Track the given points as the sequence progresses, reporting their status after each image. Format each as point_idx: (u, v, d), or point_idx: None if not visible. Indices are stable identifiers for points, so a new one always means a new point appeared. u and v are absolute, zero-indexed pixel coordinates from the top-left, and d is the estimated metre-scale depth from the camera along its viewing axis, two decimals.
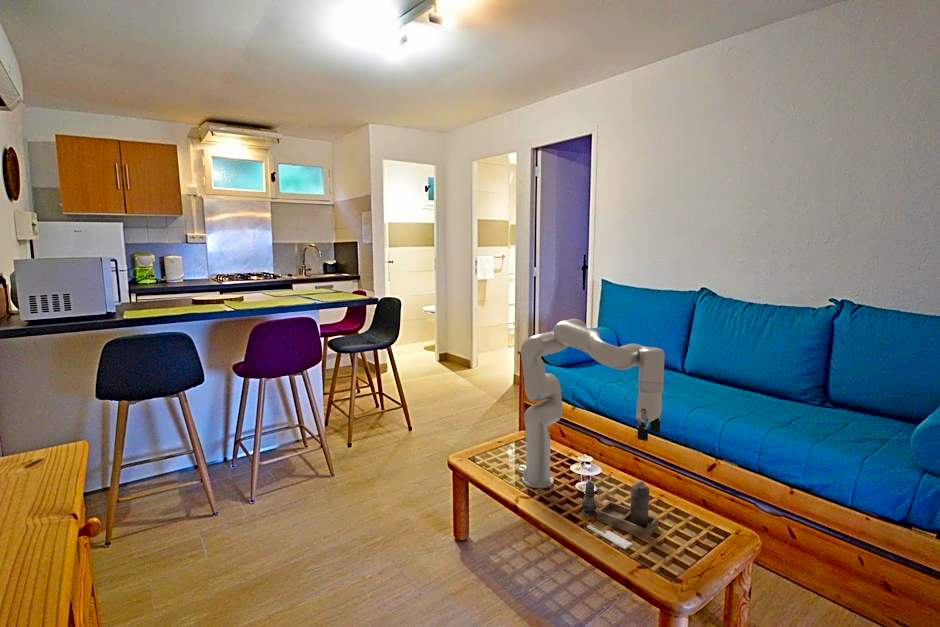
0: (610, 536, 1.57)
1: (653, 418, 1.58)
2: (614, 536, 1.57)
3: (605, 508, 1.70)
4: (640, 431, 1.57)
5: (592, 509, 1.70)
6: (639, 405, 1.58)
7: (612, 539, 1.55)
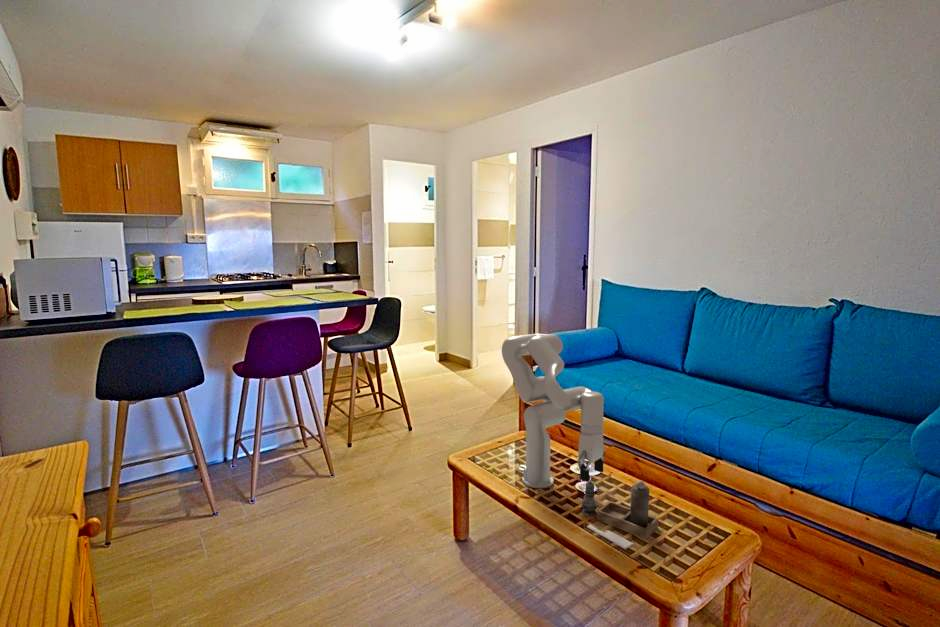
0: (610, 536, 1.57)
1: (594, 459, 1.66)
2: (614, 536, 1.57)
3: (605, 508, 1.70)
4: (581, 472, 1.66)
5: (592, 509, 1.70)
6: (580, 447, 1.66)
7: (612, 539, 1.55)
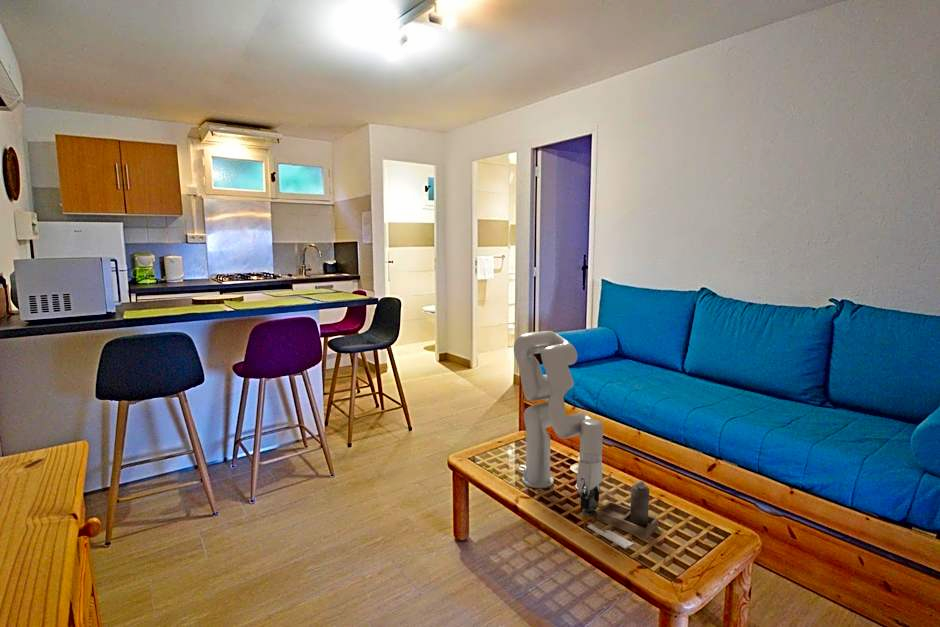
0: (611, 535, 1.57)
1: (592, 487, 1.68)
2: (615, 535, 1.57)
3: (605, 508, 1.70)
4: (582, 500, 1.69)
5: (592, 509, 1.70)
6: (579, 474, 1.68)
7: (613, 538, 1.55)
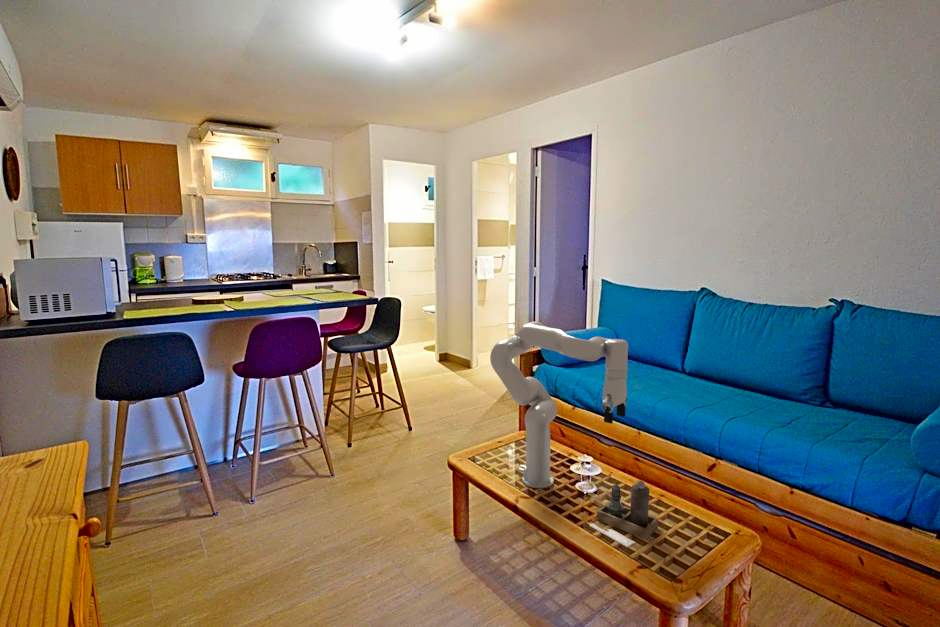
0: (612, 534, 1.58)
1: (618, 403, 1.75)
2: (616, 534, 1.58)
3: (605, 508, 1.70)
4: (606, 414, 1.74)
5: (618, 513, 1.65)
6: (605, 391, 1.75)
7: (615, 537, 1.56)
